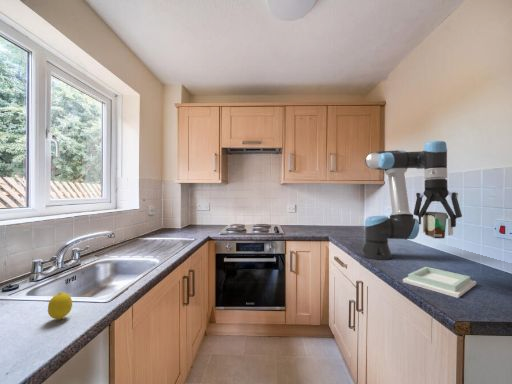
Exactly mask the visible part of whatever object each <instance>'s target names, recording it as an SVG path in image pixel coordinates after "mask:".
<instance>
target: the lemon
mask: <svg viewBox="0 0 512 384" xmlns="http://www.w3.org/2000/svg"><path fill="white" fill-rule="evenodd" d="M72 308H73V300H72V298H71V296H70V295H69V294H68V293H66V292H59V293H57V294H55V295H53V296H52V297H51V298H50V300H49V302H48V306H47V312H48V313H47V314H48V316H49V317H50V318H51V319H55V320H58V321H61V320H62V319H63V318H64V317H66V316H67V315H68V314H69V313H70V312H71V311H72Z"/></svg>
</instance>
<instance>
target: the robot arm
mask: <svg viewBox="0 0 512 384" xmlns="http://www.w3.org/2000/svg"><path fill="white" fill-rule="evenodd" d="M364 163H365V165H366V166H367V167H368V169H371V170H378V171H380V170H381V171H384V173H385V175H386V176H388V177H387V178H388V186H389V187H388V188H389V195H390V203H391V204H390V205H391V214H390V215H389V217H388V216H387V215H371V216H368V217H366V218H365V223H364V232H365V242H364V245H363V247H362V251H361V255H362V256H363V257H364V258H367V259H372V260H378V261H379V260H380V261H382V260H384V261H387V260H391V259H392V258H393V257H392V251H391V249H390V246H389V239H391V240H406V241H407V240H415V239H416V238H417V237H418V235H419V232H420V233H422V234H423V233H424V234H425V232H426V217H424V214H425V212H428V209H429V207H430V205H431V203H432V202H437V203H438V202H440V203H441V205H442V206H443V207H444V210H445V211H446V213H447V215H448V217H449V218H448V219H447V234H448V235H447V236H450V237H451V236H453V235H454V228H456V226H457V219H460V218H462V217H463V215H462V211H461V207H460V204H459V201H458V196H459V195H458V194H459V193H458V192H456V191H454V192H452V191H451V192H450V191H449V190H448V179H446V178H448V148H447V142H446V141H443V140H434V141H430V142H426V143H424V146H423V150H421V151H405V150H401V149H400V150H398V149H397V150H377V151H374V152H370V153H369V154H367V156H366V157H365V159H364ZM408 169H417V170H420V169H422V170H423V169H424V172H423V173H424V179H425V180H424V191H423V192H416V201H415V205H414V209H413V213H412V212H411V211H410V206H409V205H410V204H409V200H408V199H409V198H408V197H409V196H408V190H407V184H406V183H407V182H406V177H405V173H406V172H407V171H408ZM424 196H425V197H426V199H425V201H424V204H423V205H422V202H423V201H422V200H423V198H424ZM448 196H449V198H450V199H451V203H452V207H453V209H452V208H451V206H450V204H449V203H448V200H447V197H448ZM421 206H422V208H421ZM453 210H454V211H453ZM414 216H417V217H418V219H417V218H414Z"/></svg>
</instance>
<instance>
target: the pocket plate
mask: <svg viewBox="0 0 512 384" xmlns="http://www.w3.org/2000/svg"><path fill="white" fill-rule="evenodd" d="M402 283H404V284H408V285H412V286H416V287H419V288H423V289H425V290H430V291H433V292H437V293H440V294H443V295H447V296H450V297H453V298H457V299H458V298H461V296H463V295H464V294H466V293H467V292H468V291H469V290H471V289H472V288H473V287H475V286H476V285H477V281H475V280H472V279H471V276H470V275H465V274H461V273H456V272H451V271H448V270H447V271H446V270H444V269H438V268H434V267H433V268H432V267H428V266H424V267H421V268H419V269H418V270H415V271H412V272H409V273H408V274H407V277H404V278H402Z"/></svg>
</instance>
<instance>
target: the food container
mask: <svg viewBox="0 0 512 384" xmlns="http://www.w3.org/2000/svg"><path fill="white" fill-rule="evenodd" d="M423 217H426V232H424V235H425V236H427V237H431V238H432V239H445V237H446V226H447V220H448V219H449V215H448V213H447V212H441V211H440V212H438V211H426V212H425V214H424V216H423Z"/></svg>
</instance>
